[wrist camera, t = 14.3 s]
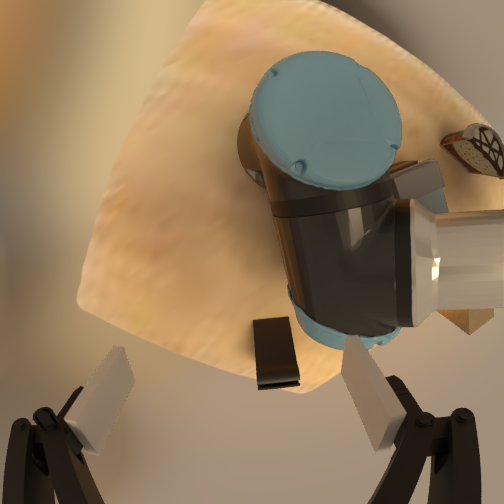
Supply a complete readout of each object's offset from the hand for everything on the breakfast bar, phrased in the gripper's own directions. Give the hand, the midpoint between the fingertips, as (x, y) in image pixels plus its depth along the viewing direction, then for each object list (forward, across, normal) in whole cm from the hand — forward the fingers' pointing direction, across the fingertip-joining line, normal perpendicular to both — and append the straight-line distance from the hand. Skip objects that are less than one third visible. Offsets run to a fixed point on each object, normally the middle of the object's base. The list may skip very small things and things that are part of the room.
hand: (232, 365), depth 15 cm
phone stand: (+29, +4, -17) cm, 34 cm away
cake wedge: (+29, +42, +17) cm, 54 cm away
